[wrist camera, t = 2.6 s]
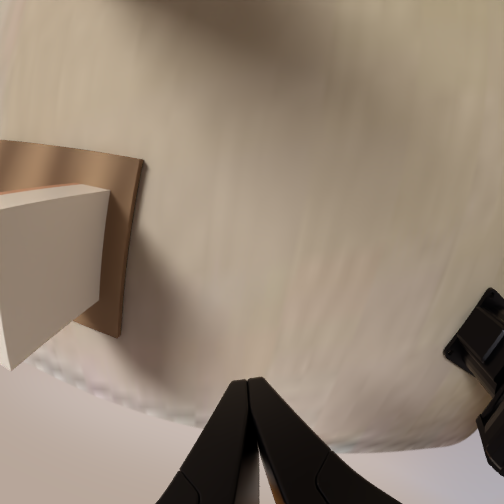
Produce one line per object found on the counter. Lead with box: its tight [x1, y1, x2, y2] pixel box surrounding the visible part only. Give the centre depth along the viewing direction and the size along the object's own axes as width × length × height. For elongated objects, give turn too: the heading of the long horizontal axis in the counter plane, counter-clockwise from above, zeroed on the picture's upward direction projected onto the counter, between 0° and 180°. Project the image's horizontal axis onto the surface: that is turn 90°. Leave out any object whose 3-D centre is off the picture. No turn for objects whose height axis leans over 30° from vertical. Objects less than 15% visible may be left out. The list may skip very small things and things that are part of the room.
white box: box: [0, 183, 110, 371], centre depth 15 cm, size 3×8×10 cm, turn 166°
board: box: [0, 140, 143, 338], centre depth 20 cm, size 15×13×1 cm
